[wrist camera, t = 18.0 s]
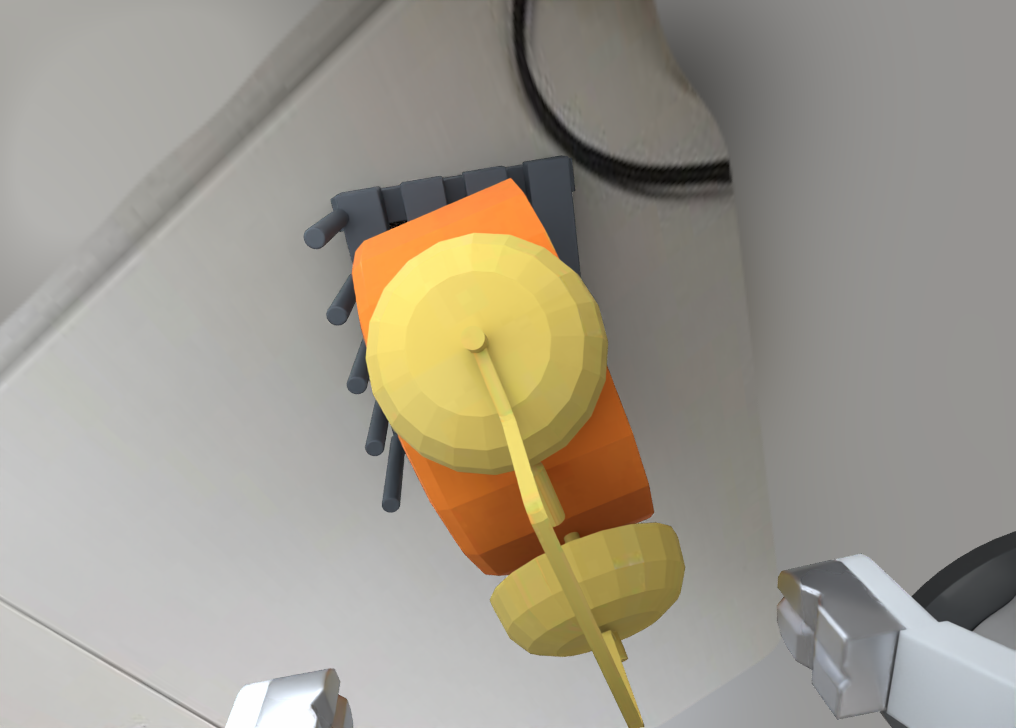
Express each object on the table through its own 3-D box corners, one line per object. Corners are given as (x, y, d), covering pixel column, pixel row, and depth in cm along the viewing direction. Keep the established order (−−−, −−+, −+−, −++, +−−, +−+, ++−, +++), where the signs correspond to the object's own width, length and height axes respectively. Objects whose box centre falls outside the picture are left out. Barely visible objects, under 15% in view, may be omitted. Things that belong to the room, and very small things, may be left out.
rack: (565, 153, 29) (618, 157, 20) (590, 393, 34) (640, 473, 26) (334, 192, 28) (292, 212, 20) (396, 430, 33) (385, 525, 25)
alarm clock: (371, 218, 26) (221, 405, 8) (492, 165, 26) (643, 225, 7) (481, 442, 31) (551, 879, 13) (582, 400, 31) (803, 781, 12)
